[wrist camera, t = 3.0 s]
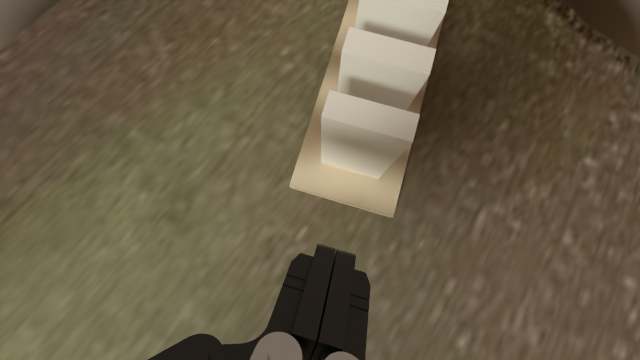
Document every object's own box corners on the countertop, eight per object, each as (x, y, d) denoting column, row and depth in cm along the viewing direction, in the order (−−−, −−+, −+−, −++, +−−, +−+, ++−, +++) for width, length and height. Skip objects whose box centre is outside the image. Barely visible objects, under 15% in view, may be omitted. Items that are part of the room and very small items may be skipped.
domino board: (390, 217, 26) (393, 216, 25) (290, 187, 27) (289, 185, 26) (447, -7, 30) (451, -15, 29) (359, -29, 31) (361, -37, 30)
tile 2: (389, 135, 26) (430, 74, 17) (334, 120, 27) (341, 51, 17) (394, 118, 27) (436, 49, 17) (339, 103, 27) (349, 26, 17)
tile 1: (378, 178, 26) (413, 142, 16) (321, 162, 26) (321, 116, 16) (382, 161, 26) (420, 114, 16) (326, 145, 26) (329, 89, 16)
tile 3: (400, 94, 27) (445, 12, 17) (346, 79, 27) (360, -9, 18) (405, 78, 27) (451, -11, 18) (351, 64, 28) (367, -32, 18)
